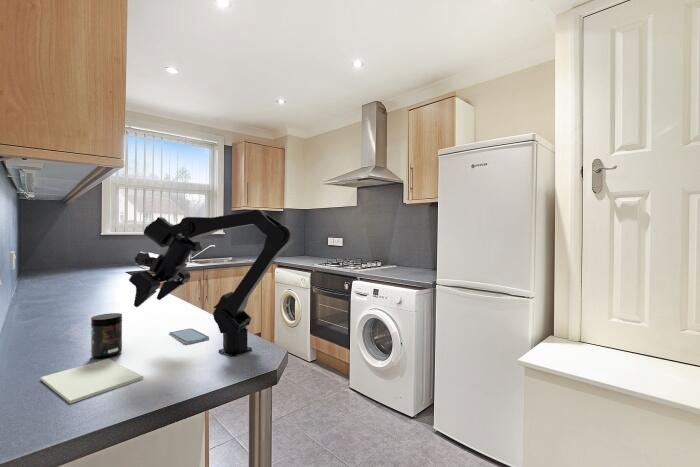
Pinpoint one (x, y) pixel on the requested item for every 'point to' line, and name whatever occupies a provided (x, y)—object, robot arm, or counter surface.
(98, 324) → the supplement container
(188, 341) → the smartphone
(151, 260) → the robot arm
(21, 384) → the counter surface
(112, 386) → the mat
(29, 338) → the counter surface
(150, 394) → the counter surface
